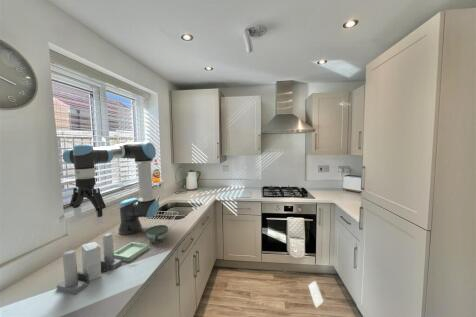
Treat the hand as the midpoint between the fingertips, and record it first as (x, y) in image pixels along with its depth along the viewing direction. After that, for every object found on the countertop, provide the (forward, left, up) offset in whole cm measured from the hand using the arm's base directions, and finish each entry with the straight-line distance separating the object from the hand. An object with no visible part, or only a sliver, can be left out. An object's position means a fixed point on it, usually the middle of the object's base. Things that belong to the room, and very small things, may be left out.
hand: (88, 222), depth 95 cm
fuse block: (0, 0, -26) cm, 26 cm away
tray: (+1, +21, -26) cm, 34 cm away
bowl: (+6, +38, -26) cm, 47 cm away
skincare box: (0, 0, -26) cm, 26 cm away
